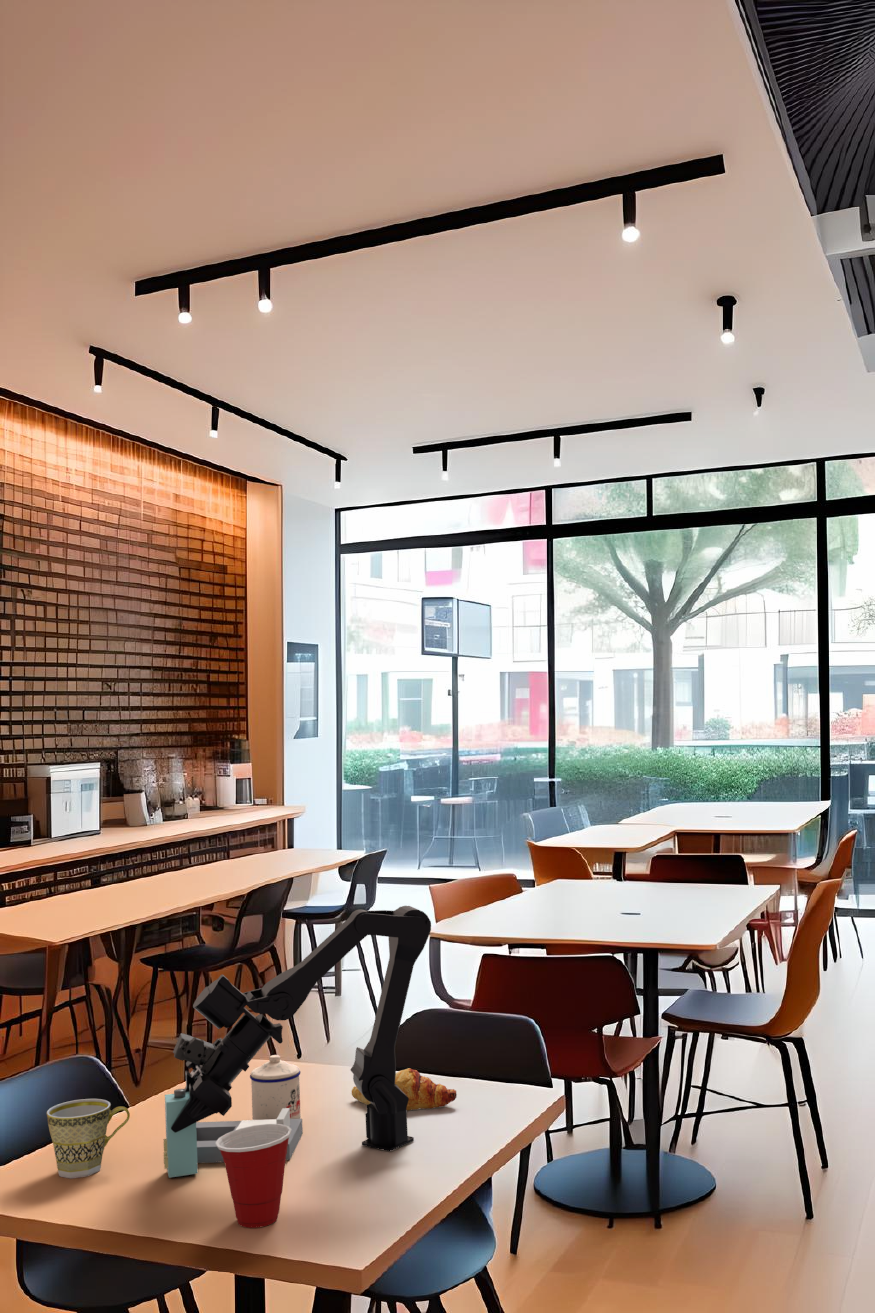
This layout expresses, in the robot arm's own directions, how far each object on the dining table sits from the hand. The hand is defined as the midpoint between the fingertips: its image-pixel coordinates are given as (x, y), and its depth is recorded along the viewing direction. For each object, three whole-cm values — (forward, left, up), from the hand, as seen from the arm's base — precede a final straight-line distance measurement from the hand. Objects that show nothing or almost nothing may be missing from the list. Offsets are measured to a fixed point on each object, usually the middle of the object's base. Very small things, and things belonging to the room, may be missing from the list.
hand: (171, 1126), depth 182 cm
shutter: (-3, -16, -5) cm, 17 cm away
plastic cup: (-25, +5, -8) cm, 26 cm away
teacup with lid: (+5, -29, -8) cm, 30 cm away
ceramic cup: (+14, +5, -8) cm, 17 cm away
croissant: (-9, -47, -8) cm, 49 cm away
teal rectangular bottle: (-1, -1, -7) cm, 7 cm away
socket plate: (0, -14, -8) cm, 16 cm away
